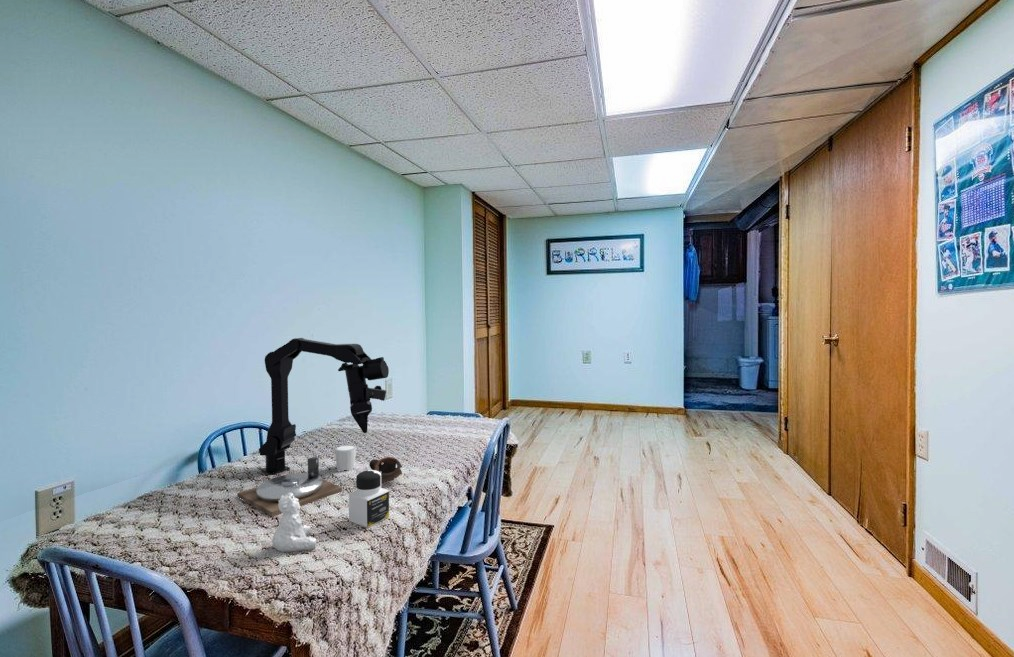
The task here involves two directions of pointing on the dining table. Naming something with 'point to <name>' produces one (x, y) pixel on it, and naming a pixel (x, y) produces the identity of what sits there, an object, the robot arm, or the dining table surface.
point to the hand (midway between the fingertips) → (364, 430)
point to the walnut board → (272, 507)
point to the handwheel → (292, 484)
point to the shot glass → (345, 457)
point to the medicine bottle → (368, 500)
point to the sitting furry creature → (292, 528)
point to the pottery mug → (386, 468)
